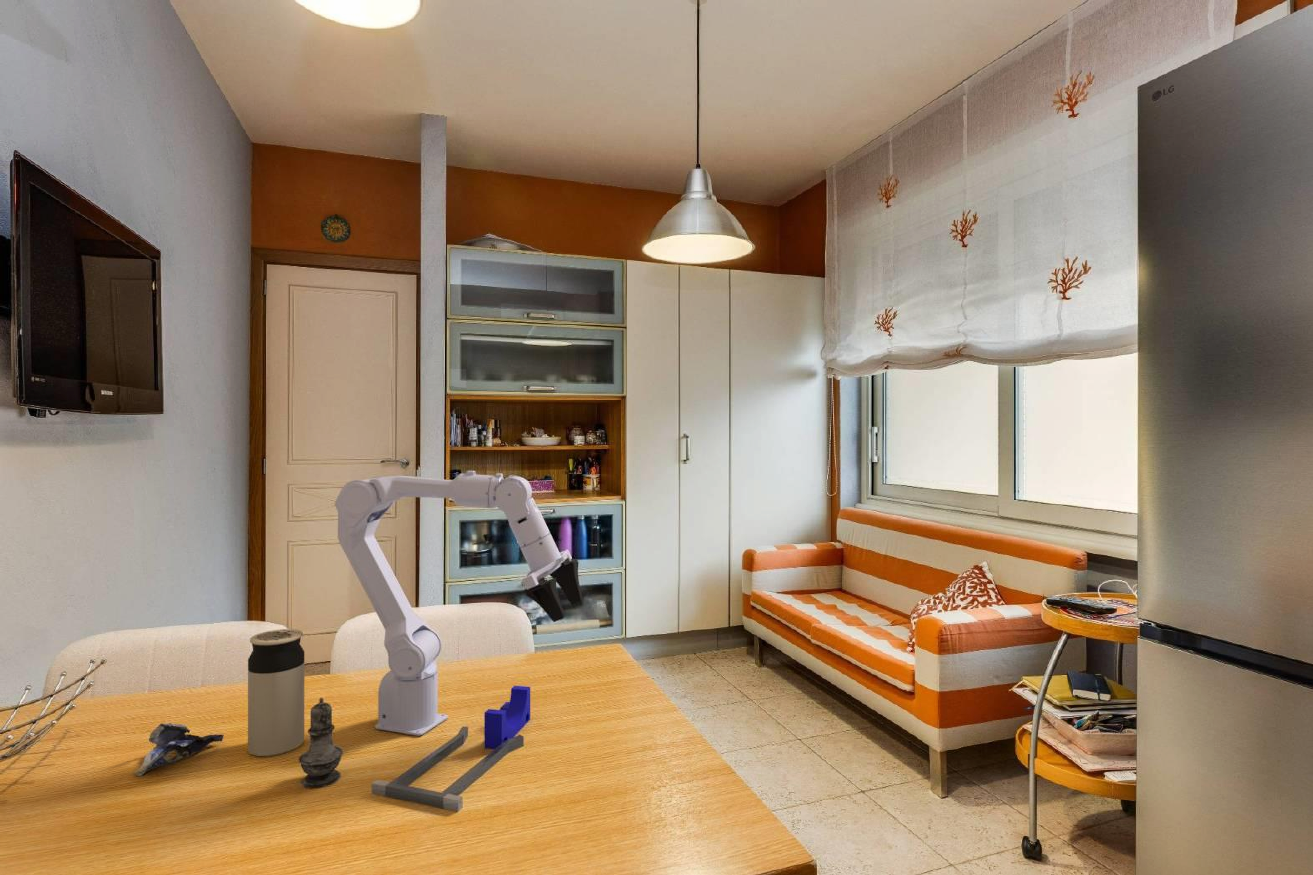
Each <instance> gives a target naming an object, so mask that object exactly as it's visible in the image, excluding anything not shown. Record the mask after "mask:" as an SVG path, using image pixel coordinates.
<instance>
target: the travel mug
mask: <svg viewBox="0 0 1313 875" xmlns="http://www.w3.org/2000/svg"><path fill="white" fill-rule="evenodd" d="M303 635H304V633H303V631H302V630H300V629H294V628H285V629H284V628H282V629H273V630H267V631H264V632H260V633H256V634H255V635H253V636H251V637H250V639H249V642H250V643H251V645H252V647H251V648H252V651H251V653H250V655H249V657H248V659H247V751H248V753H249V754H251V755H254V756H257V757H273V756H277V755H282V754H286V753H289V752H291V751H293V750H295V749H296V748H298V747H300V746H301V745H302V744H303V743H304V742H305V650H304V648H303V647H302V645H301V639H302V637H303Z"/></svg>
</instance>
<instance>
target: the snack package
mask: <svg viewBox="0 0 1313 875" xmlns="http://www.w3.org/2000/svg"><path fill="white" fill-rule="evenodd" d="M190 732H191V730H190V729H189V728H188V727H187V726H186V725H183V724H178V723H174V724H172V723H160V724H158V726H157V727H156V728H155V729H154V730H152V731H151V733H150V734H149V738H148V741H149V742H150V743H151V744H154V745H155V747H153V748H152V749H151V750H150V751H148V752H147V754H146V756H144V757H145V758H144V759H143V763H142V765H141V766H140V767H139V768H138V770H136V772H133V774H134V775H135V776H136V777H142V776H144V775H145V773H146V772H148V771H150V770H151V771H152V770H153V769H154V770H155V769H157V768H159V767H160V768H161V767H163V766H166V765H169V764H171V763H174V762H176V761H177V762H178V761H180V760H183V759H186V758H188V757H191V756H192V755H194V754H196V753H198V752H200V751H201V750H202V749H203V748H205V747H207V746H208V745H210V744H211V743H215V742H216V743H219V742H223V739H224V734H207V735H204V736H199V735H196V734H194V735H193V734H190ZM143 767H144V768H143ZM142 768H143V769H142Z"/></svg>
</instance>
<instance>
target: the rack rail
mask: <svg viewBox="0 0 1313 875" xmlns="http://www.w3.org/2000/svg"><path fill="white" fill-rule="evenodd" d="M468 737H469V726H461V728H460V729H459V731H458V733H457V734H456V735H454V736H453V738H450V739H449V740H448V741H446V742H445V743H444V744H442V745H440V746H439V747H438V748H437V749H435V750H434V751H433V752H431V753H430V754H428V755H426V756H425V757H424V758H423V759H421V760H419V762H417V763H415V764H414V765H412V766H411V767H410V768H408V769H407V770H405V772H403V773H401V774H400V775H398V776H397V777H396V778H394V779H393V780H392V781H385V780H380V779H376V780H374V781H373V782H371V794H372V795H375V796H381V797H385V798H389V799H390V798H391V799H396V800H400V801H406V802H410V803H413V804H419V805H424V806H429V807H434V808H438V809H439V808H440V809H444V810H449V811H453V812H459V811H461V810H462V809H463V807H464V805H463V801H464V799H463V798H464V797H463V796H462V795H461V794H463V792H465V791H466V790H467V789H468V788H469V787H470V786H471V785H473V784H474V783H475V782H476V781H477V780H478V779H480V778H481V777H482V776H483V775H484V774H485V773H487V772H488V771H489V770H490V769H491V768H492V767H494V766H495V765H496V764H497V763H498V762H499V761H501V760H502V759H503V758H504V757H505V756H507V755H508V754H509V753H511V752H514V751H516V750H517V749H520V748H522V747H524V744H525V742H524V738H525V736H524V735H521V734H517V735H516V736H515V737H513V738H511V739H509V740H507V741H504V742H503V743H502V744H500V745H499V746H498V747H497V748H495V749H494V750H493V749H492V750H491V751H490V752H489V753H488V754H486V756H485V757H483V758H482V759H481V760H480V761H478V762H477V763H476V764H474V766H472V767H471V768H470V769H469V770H467V771H466V772H465V773H463V774H462V775H461V776H460V777H459V778H457V779H456V780H455V781H454V782H452V783H451V784H449V786H448V787H447V788H445V789H444V790H443V791H442V792H441V791H436V790H432V789H431V790H429V789H427V788H426V789H425V788H421V787H415V786H410V784H412V783H414V782H415V781H416V780H417V779H419V778H420V777H421V776H423V775H424V774H425V773H427V772H428V771H429V770H430V769H432V768H434V767H435V766H436V765H437V764H439V763H441V762H442V761H443V760H444V759H446V758H447V757H448V756H449V755H451V754H452V753H454V752H455V751H457V750H458V749H460V747H462V746H463V745H464V744H465V742H466V740H467V738H468Z"/></svg>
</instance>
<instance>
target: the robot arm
mask: <svg viewBox="0 0 1313 875" xmlns="http://www.w3.org/2000/svg"><path fill="white" fill-rule="evenodd" d="M476 472H477V471H476V470H466V472H465V473H459V474H458V475H457V476H456V477H455V478H454V479H453V480H451V479H442V478H441V479H440V478H432V477H422V476H421V477H420V476H412V475H391V476H383V477H382V476H375V477H374V476H373V477H371V478H367V479H365V478H364V479H353V480H350V481H348V482H346V483H345V484H344V485H343V486H342V488H341V490H340V491H339V494H338V496H337V498H336V500H335V501H334V507H335V508H336V511H337V540H338V542H339V545H340V546H341V549H342V550H343V552H344V554H345V555H346V557H347V560H348V561H349V562H348V563H350V565H351V568H352V569H353V571H354V573H355V575H356V576H357V579H358V580H359V582H360V584H361V587H362V588H363V590H364V592H365V594H366V596H367V598H368V599H369V601H370V604H371V605H372V607H373V609H374V612H375V613H376V615H377V617H378V618H379V620H380V622H381V624H382V626H383V629H384V630H385V631H384V641H383V645H384V646H383V647H384V648H385V650H386V652H387V656H388V659H387V660H388V663H387V664H388V667H389V670H390V671H388V672H386V673H385V674H384V675H383V676H382V678H381V680H380V682H379V685H378V692H377V695H378V700H377V703H378V704H377V705H378V706H377V707H378V709H377V710H378V711H377V712H378V713H377V715H378V716H377V719H378V721H377V724H375V725H374V729H376V730H382V731H387V732H388V731H389V732H395V733H400V734H406V735H413V736H417V737H419V736H420V737H421V736H422V735H424V734H426V733H427V732H429V731H431V729H433V728H435V727H437V726H438V725H439V724H441V723H442V722H444V721H445V720H447V719H448V718H449V715H448V714H445V713H438V707H439V706H438V701H439V700H438V692H439V691H438V690H439V689H438V686H439V685H438V681H439V679H438V677H439V673H438V670H439V668H438V665H437V663H436V659H437V657H438V656H439V655H440V653H441V651H442V647H443V646H442V645H443V644H442V639H441V637H440V635H439V634H438V632H436V631H435V630H433V628H431V627H430V626H429V625H428V624H427V622H426V619H424V618H423V617H421V616H420V615H419V614H417V613H415V611H414V609H413V607H412V605H411V604H410V602H409V599H408V597H407V596H406V594H405V592H404V590H403V588H402V586H401V585H400V582H399V581H398V579H397V576H396V575H395V574H394V572H393V569H392V567H391V566H390V564H389V562H388V560H387V558H386V556H385V554H384V552H383V551H382V549H381V546H380V545H379V542H378V541H377V539H376V537H375V532H376V530H377V528H378V526H379V523H380V521H381V519H382V517H383V516H384V515H385V514H386V513H387V512H388V511H389V509H390V508H391V507H392V506H393V505H394V503H395V502H398V501H401V500H404V499H405V498H407V497H408V498H432V499H433V498H436V499H450V500H451V501H453V503H454V504H455V505H456V506H457V507H463V508H482V509H496V508H497V509H499V510H500V511H501V512H504V515H505V517H506V518H507V521H508V526H509V527H510V529H511V531H512V534H513V536H514V538H515V539H516V542H517V543H518V546H519V548H520V550H521V553H522V554H523V557H524V558H525V561H526V563H527V565H528V567H529V569H530V570H529V571H528V573H527V574H526V575H525V576H524V577H523V578H522V579H521V580H522V582H523V584H524V587H525V589H524V590H523V592H524V594H525V596H526V597H528V598H530V599H531V600H532V601H534V602H535V603H536V604H537V605H539V607H540V608H542V610H543V611H544V612H545V613H546V614H547V616H548V617H549V618H550V619H551V621H552V622H557V621H560V620H563V619H564V618H566V615H565V610H564V609H563V605H562V603H561V601H560V598H559V592H558V587H557V584H558V586H559V587H560V589H561V590H562V592H563V594H564V596H565V597H566V598H567V600H568V602H569V603H570V605H571V606H573V605H576V604H578V603H581V602H583V595H582V590H581V587H580V586H581V585H580V580H579V565H580V564H579V560H578V559H577V558H574V559H573V558H572V555H571V553H570V551H569V549H565V550H562V551H559V548H558V547H557V543H555V540H554V538H553V536H552V534H551V531H550V530H549V527H548V526H547V523H546V521H545V519H544V517H543V515H542V512H541V510H540V509H539V508H538V506H537V503H536V501H535V500H534V498H533V497H532V495H533V489H532V485H531V483H530V482H529V481H528V480H527V479H526V478H524V477H522V476H518V475H515V474H512V475H509V476H507V477H506V478H504V474H503V473H499V472H498V473H496V474H495V475H492V474H491V475H488V474H477V473H476ZM548 576H550V577H551V579H546V578H547V577H548Z"/></svg>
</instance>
